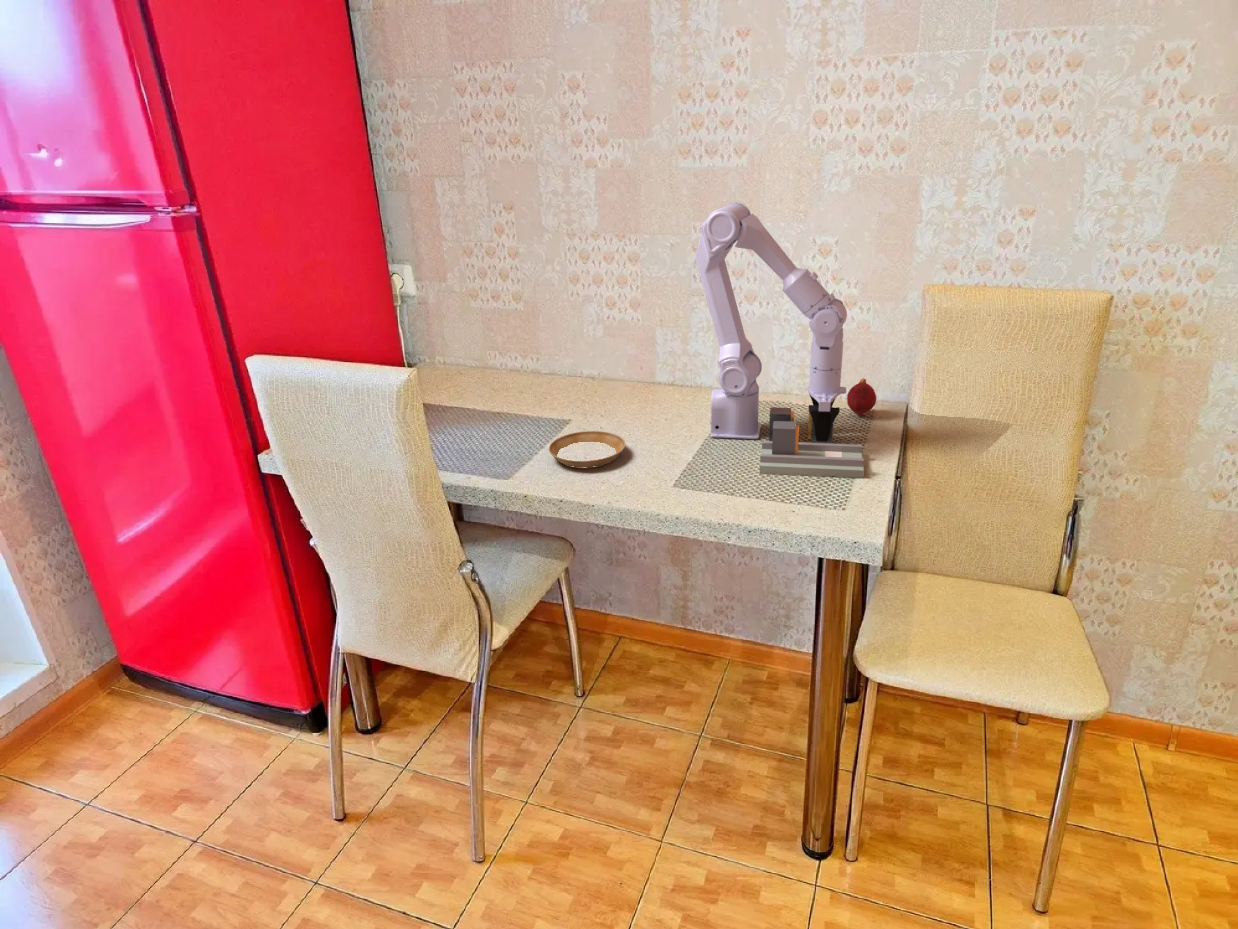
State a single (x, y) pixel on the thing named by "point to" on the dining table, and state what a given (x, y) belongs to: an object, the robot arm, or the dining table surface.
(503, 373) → the dining table surface
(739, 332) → the robot arm
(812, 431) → the brushed grey cube
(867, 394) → the onion
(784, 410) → the block
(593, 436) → the plant saucer
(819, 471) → the rail
